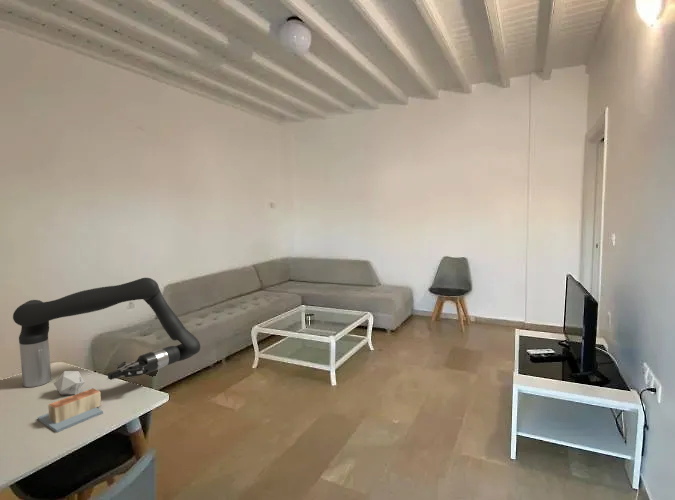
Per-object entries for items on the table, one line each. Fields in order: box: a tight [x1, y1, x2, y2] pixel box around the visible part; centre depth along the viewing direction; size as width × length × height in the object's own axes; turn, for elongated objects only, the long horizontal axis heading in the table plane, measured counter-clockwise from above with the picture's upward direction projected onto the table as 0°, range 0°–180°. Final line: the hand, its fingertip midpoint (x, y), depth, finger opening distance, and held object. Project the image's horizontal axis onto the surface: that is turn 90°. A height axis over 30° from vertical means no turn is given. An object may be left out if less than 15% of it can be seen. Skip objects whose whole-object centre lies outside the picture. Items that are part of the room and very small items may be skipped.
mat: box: [37, 407, 104, 433], centre depth 134 cm, size 14×14×1 cm
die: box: [53, 370, 86, 396], centre depth 151 cm, size 8×9×10 cm
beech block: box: [47, 388, 102, 423], centre depth 135 cm, size 5×5×14 cm
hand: (108, 376), depth 144 cm, fingers closed
